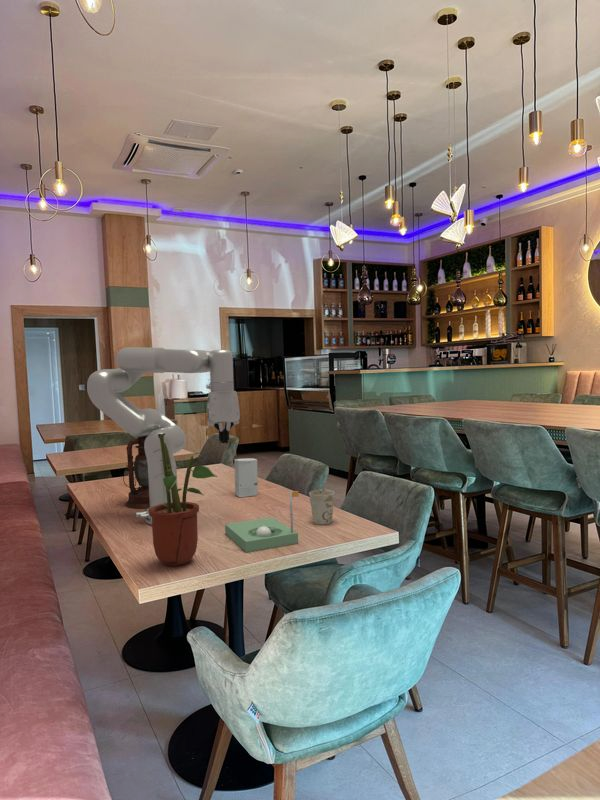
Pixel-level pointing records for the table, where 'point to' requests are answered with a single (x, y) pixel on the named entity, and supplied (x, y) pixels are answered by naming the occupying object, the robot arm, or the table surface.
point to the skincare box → (246, 477)
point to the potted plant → (176, 515)
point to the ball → (263, 531)
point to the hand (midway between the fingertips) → (224, 442)
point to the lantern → (138, 476)
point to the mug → (322, 506)
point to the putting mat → (251, 541)
